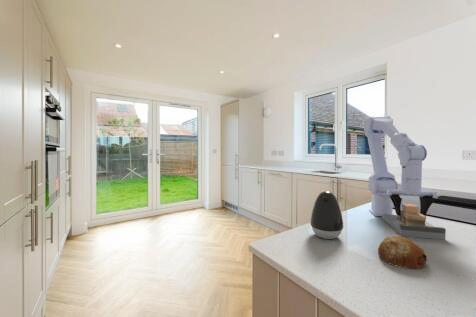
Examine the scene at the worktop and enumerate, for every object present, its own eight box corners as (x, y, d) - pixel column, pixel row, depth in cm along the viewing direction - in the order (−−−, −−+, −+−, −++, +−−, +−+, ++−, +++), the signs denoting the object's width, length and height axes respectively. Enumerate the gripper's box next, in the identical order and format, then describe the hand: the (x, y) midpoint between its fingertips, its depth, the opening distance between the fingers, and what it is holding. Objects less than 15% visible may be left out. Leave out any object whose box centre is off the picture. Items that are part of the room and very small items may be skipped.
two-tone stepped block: (396, 217, 85) (397, 207, 85) (412, 218, 84) (412, 208, 84) (408, 226, 76) (408, 215, 76) (425, 228, 74) (426, 216, 74)
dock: (382, 218, 90) (382, 210, 90) (417, 221, 87) (417, 212, 87) (401, 235, 73) (401, 225, 73) (445, 239, 70) (445, 228, 69)
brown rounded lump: (387, 261, 64) (374, 234, 66) (430, 256, 58) (414, 226, 60) (384, 277, 56) (369, 246, 58) (432, 273, 50) (414, 238, 52)
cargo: (401, 209, 82) (401, 203, 82) (412, 210, 81) (413, 204, 81) (406, 213, 78) (406, 206, 78) (418, 213, 77) (418, 206, 77)
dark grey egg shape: (307, 239, 71) (308, 193, 70) (313, 228, 80) (313, 187, 80) (342, 245, 66) (343, 195, 66) (343, 233, 76) (344, 189, 75)
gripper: (392, 179, 77) (391, 217, 78) (442, 180, 73) (441, 220, 74) (385, 176, 84) (384, 211, 85) (430, 178, 80) (429, 214, 81)
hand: (410, 215), depth 80 cm, fingers open, 7 cm apart
